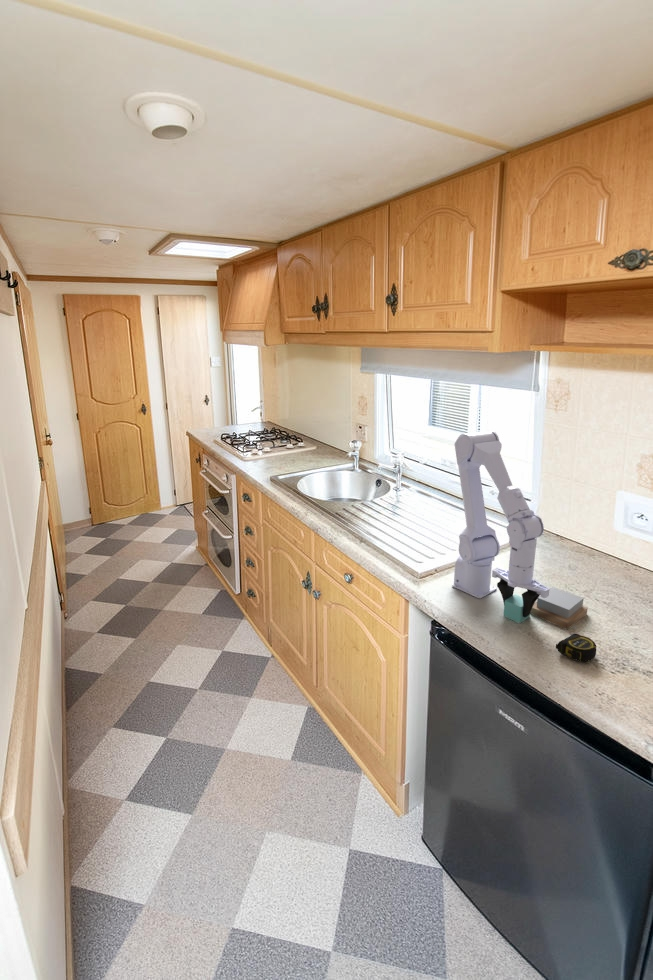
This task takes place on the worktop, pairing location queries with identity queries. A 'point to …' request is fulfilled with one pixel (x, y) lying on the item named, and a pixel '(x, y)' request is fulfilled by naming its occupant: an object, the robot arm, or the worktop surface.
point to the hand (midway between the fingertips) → (516, 611)
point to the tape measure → (577, 648)
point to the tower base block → (559, 619)
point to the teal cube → (514, 609)
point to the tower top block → (560, 602)
